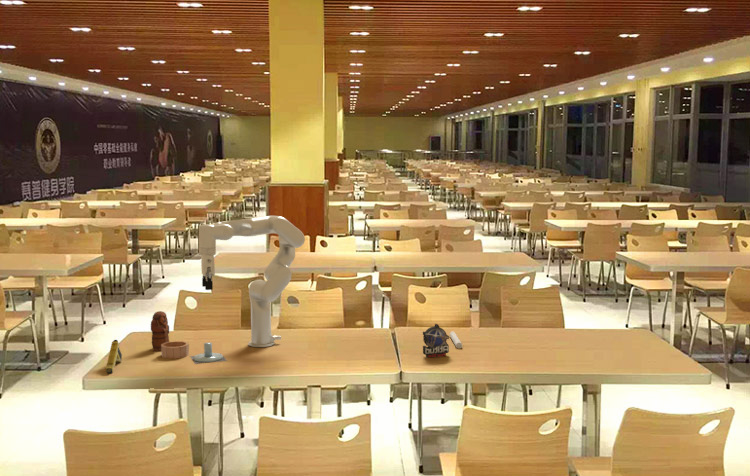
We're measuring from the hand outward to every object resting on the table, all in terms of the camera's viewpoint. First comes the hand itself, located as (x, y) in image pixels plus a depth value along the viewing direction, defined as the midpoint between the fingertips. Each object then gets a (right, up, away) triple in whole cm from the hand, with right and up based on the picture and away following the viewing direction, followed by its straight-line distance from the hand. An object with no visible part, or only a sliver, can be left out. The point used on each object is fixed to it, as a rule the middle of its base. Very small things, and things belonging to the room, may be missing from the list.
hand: (207, 288), depth 383 cm
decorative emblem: (+105, -31, -5) cm, 110 cm away
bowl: (-14, -31, -2) cm, 34 cm away
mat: (+2, -32, -8) cm, 33 cm away
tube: (+117, -28, +22) cm, 122 cm away
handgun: (-36, -34, -21) cm, 54 cm away
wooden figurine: (-24, -30, +12) cm, 40 cm away
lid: (+2, -31, -8) cm, 33 cm away
